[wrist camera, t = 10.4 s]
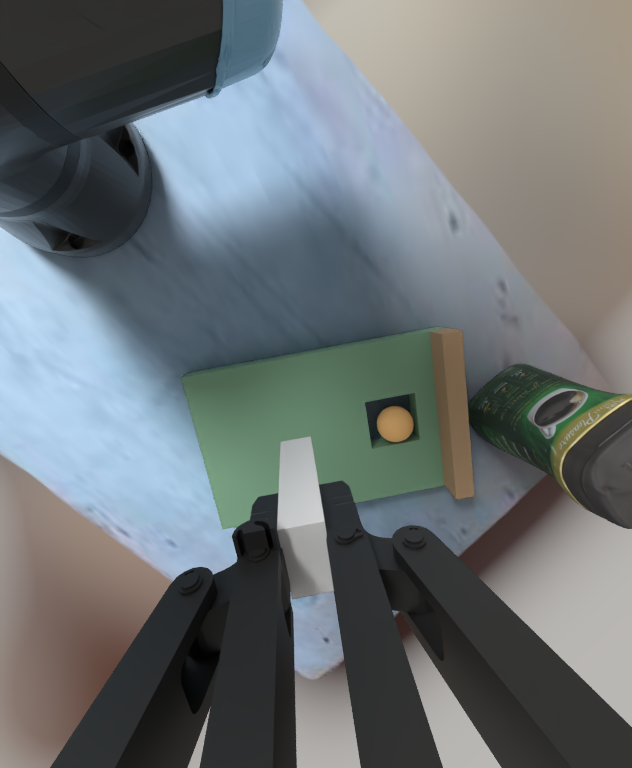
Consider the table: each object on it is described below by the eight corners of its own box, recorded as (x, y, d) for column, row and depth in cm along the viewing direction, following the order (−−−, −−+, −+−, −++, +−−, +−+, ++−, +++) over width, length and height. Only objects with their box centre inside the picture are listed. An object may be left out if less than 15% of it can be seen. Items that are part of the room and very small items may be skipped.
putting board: (226, 516, 42) (217, 547, 37) (187, 372, 38) (171, 384, 33) (451, 471, 43) (474, 496, 38) (438, 326, 39) (462, 330, 33)
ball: (368, 434, 38) (405, 436, 35) (374, 400, 39) (409, 400, 37) (381, 445, 41) (415, 448, 38) (386, 413, 42) (419, 414, 40)
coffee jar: (491, 451, 43) (638, 560, 25) (454, 406, 41) (582, 488, 23) (555, 399, 42) (757, 473, 24) (519, 350, 40) (707, 390, 22)
